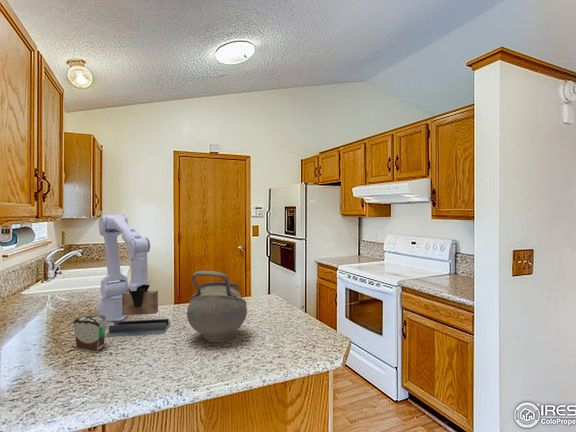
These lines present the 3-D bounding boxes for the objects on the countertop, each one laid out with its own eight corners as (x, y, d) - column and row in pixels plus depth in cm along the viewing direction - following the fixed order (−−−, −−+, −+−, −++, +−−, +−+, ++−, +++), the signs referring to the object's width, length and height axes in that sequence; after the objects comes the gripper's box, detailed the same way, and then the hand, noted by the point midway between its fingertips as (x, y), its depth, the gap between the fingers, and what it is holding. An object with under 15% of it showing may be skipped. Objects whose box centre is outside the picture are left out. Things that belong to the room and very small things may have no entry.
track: (106, 336, 118) (106, 328, 118) (117, 327, 128) (117, 319, 128) (164, 333, 120) (164, 325, 120) (170, 324, 130) (170, 316, 130)
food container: (117, 345, 110) (116, 315, 110) (101, 352, 104) (100, 321, 104) (89, 341, 114) (89, 312, 114) (72, 348, 108) (72, 317, 108)
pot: (218, 355, 101) (217, 274, 101) (174, 342, 112) (173, 269, 112) (258, 334, 118) (258, 265, 118) (217, 324, 129) (216, 261, 129)
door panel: (122, 315, 122) (122, 293, 122) (125, 313, 125) (124, 292, 125) (155, 313, 123) (155, 292, 123) (158, 311, 126) (157, 290, 126)
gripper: (144, 272, 117) (144, 310, 117) (155, 266, 132) (155, 300, 132) (123, 273, 116) (124, 311, 116) (136, 267, 131) (137, 301, 131)
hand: (139, 305), depth 124 cm, fingers closed on door panel, 3 cm apart
